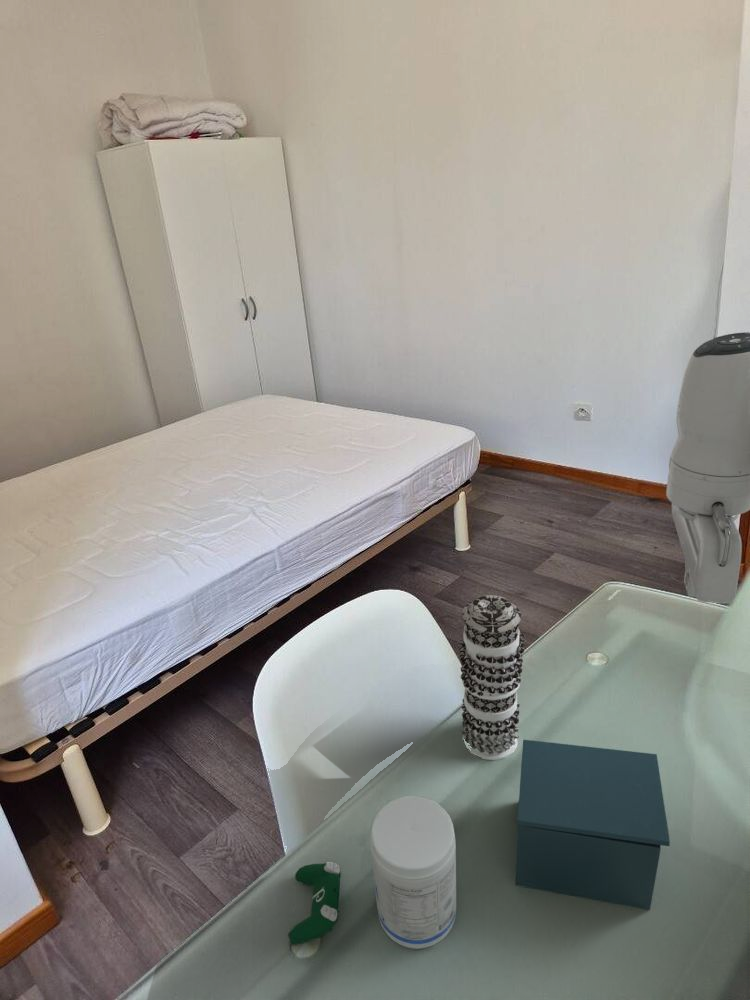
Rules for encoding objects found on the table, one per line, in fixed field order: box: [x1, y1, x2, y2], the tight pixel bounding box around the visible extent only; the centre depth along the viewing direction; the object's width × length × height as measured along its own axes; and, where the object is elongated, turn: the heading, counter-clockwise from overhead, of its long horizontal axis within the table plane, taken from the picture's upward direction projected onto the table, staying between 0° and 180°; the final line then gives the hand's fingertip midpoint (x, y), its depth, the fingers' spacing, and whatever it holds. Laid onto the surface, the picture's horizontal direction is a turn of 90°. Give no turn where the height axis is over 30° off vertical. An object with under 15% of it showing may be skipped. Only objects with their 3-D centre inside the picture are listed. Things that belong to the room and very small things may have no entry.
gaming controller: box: [287, 861, 342, 945], centre depth 83 cm, size 9×4×6 cm
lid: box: [517, 739, 671, 847], centre depth 83 cm, size 16×13×1 cm
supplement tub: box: [369, 795, 457, 950], centre depth 79 cm, size 10×10×15 cm
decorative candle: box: [458, 594, 525, 761], centre depth 100 cm, size 9×9×25 cm
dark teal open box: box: [514, 823, 662, 911], centre depth 86 cm, size 16×13×11 cm
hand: (693, 590), depth 81 cm, fingers closed
